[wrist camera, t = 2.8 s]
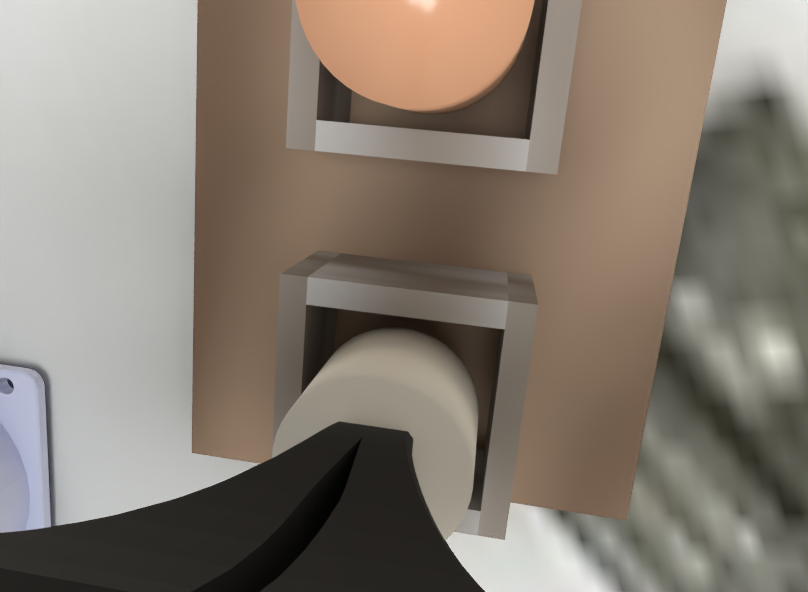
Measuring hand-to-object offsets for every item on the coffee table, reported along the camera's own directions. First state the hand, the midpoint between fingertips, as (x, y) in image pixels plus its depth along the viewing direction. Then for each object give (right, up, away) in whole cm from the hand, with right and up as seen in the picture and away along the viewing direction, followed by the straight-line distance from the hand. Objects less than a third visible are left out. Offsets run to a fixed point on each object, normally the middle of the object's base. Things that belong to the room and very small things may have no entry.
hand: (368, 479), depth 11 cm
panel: (+1, +5, +6) cm, 8 cm away
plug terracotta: (+1, +8, +1) cm, 9 cm away
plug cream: (0, +1, +3) cm, 3 cm away
